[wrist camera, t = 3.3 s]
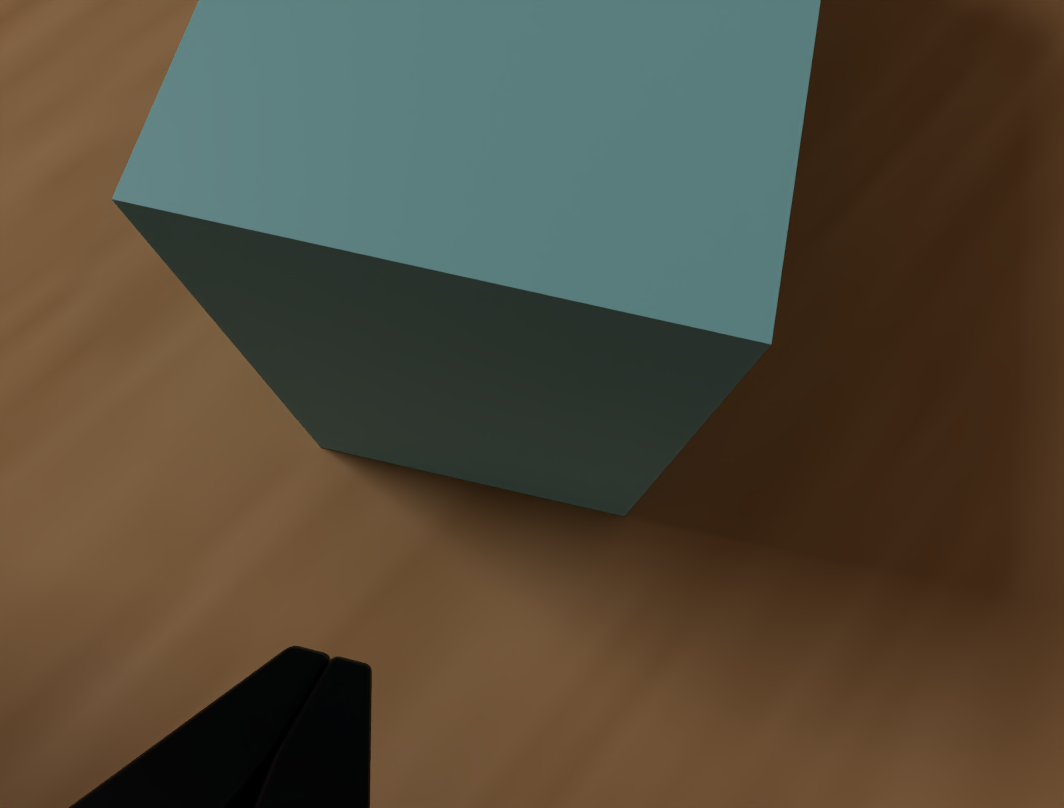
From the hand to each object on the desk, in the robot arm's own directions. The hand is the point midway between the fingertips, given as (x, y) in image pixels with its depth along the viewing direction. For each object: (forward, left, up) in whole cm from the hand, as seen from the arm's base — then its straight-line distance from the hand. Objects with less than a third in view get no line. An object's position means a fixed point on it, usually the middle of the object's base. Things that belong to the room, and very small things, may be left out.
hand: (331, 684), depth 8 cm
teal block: (+12, 0, -7) cm, 13 cm away
